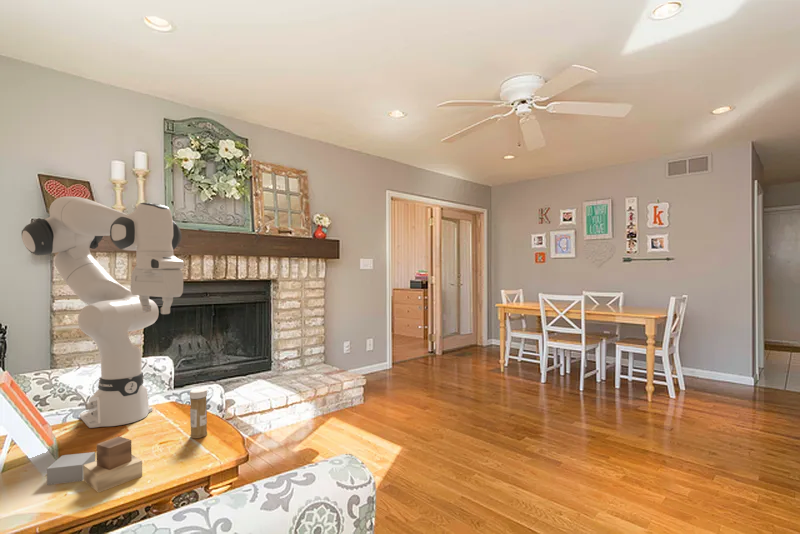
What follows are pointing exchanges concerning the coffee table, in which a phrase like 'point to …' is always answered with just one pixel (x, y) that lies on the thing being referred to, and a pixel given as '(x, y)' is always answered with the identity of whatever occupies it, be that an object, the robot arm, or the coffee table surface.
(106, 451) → the walnut cube
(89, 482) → the oak block
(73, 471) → the grey block
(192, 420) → the sprinkles bottle
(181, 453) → the coffee table surface
